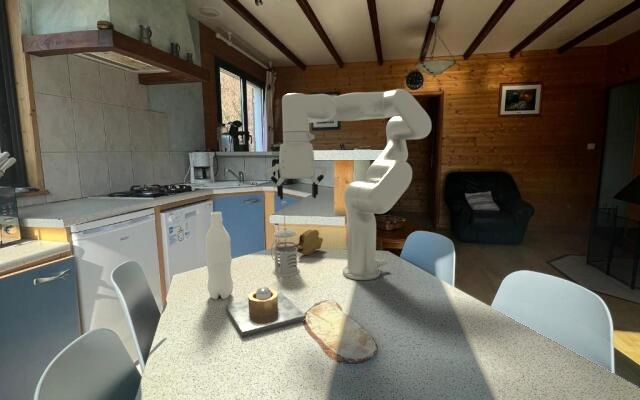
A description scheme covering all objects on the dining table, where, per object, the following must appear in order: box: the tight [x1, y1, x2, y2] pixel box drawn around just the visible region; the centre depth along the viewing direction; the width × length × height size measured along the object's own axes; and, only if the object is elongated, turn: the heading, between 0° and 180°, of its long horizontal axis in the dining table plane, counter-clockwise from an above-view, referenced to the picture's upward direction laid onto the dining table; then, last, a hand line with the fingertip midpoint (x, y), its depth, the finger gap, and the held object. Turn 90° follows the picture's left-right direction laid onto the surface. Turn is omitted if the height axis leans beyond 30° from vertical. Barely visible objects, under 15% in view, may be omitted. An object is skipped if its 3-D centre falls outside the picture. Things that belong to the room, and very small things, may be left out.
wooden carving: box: [295, 229, 324, 256], centre depth 143 cm, size 16×5×10 cm, turn 150°
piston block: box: [225, 286, 306, 339], centre depth 91 cm, size 16×16×7 cm
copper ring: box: [247, 289, 278, 316], centre depth 91 cm, size 7×7×4 cm
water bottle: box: [204, 211, 234, 300], centre depth 102 cm, size 7×7×25 cm
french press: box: [270, 200, 301, 277], centre depth 121 cm, size 10×12×25 cm
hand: (297, 198), depth 103 cm, fingers open, 9 cm apart
